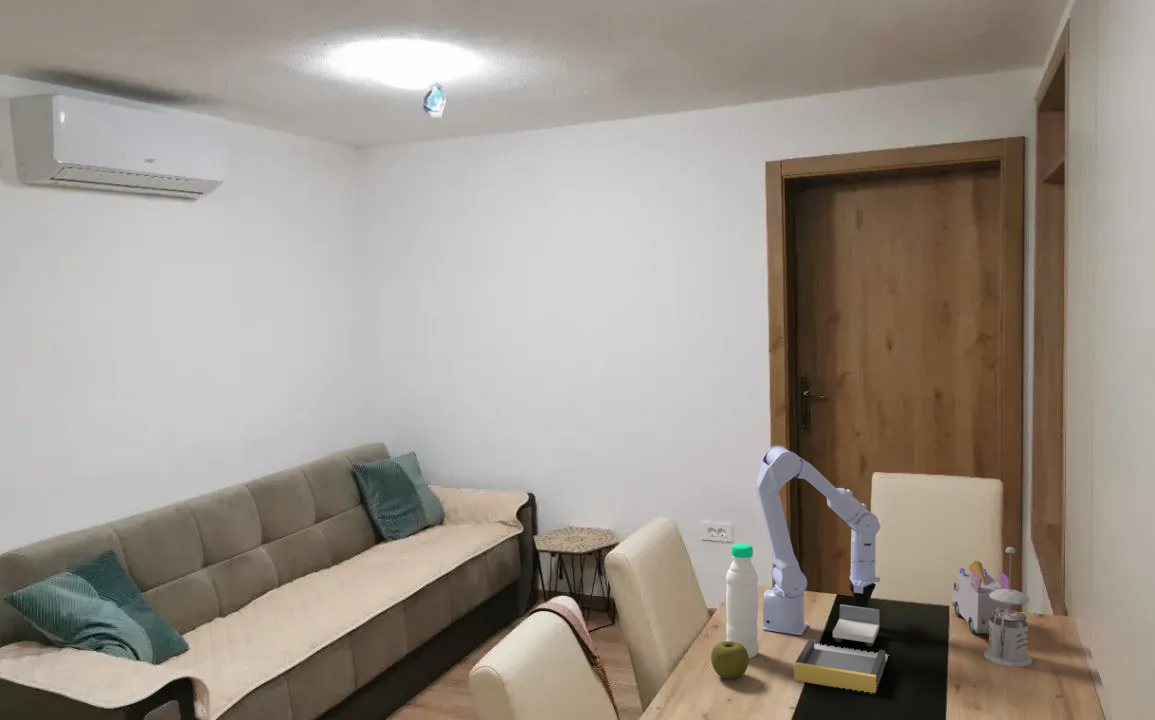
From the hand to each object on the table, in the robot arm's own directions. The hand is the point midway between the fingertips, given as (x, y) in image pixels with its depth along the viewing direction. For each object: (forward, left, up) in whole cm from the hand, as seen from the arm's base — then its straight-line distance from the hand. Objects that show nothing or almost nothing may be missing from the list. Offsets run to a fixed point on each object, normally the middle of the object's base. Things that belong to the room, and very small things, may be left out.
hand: (862, 613), depth 225 cm
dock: (0, -27, -3) cm, 27 cm away
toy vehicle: (+26, +11, -3) cm, 28 cm away
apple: (-21, -42, -3) cm, 47 cm away
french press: (+32, -8, -3) cm, 33 cm away
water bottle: (-22, -29, -3) cm, 37 cm away
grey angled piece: (0, -10, -3) cm, 10 cm away
